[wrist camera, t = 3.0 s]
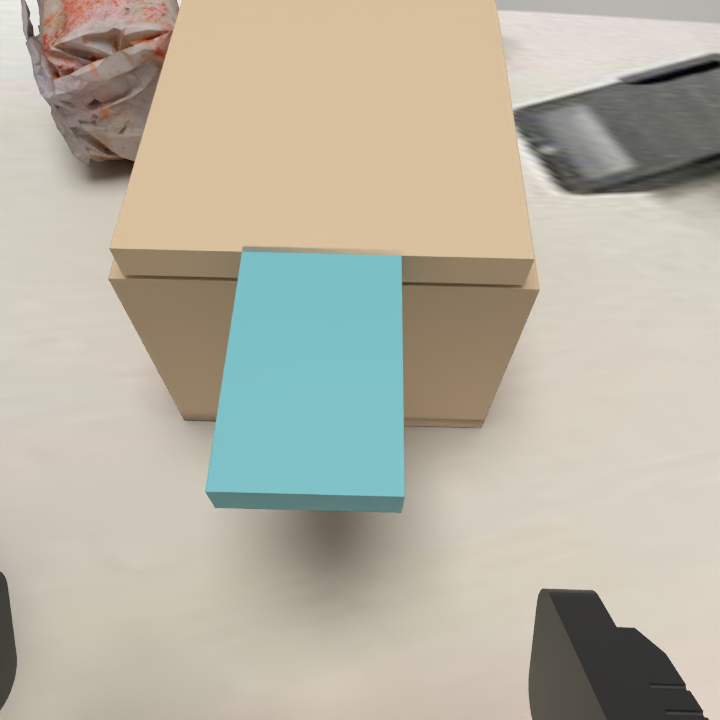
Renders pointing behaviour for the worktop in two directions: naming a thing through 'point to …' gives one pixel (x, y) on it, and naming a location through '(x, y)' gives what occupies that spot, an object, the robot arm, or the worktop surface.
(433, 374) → the carton
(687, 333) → the worktop surface
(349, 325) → the flap
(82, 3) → the food item
